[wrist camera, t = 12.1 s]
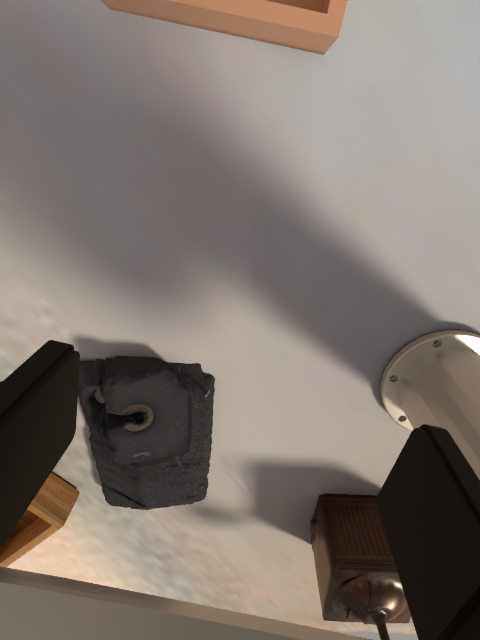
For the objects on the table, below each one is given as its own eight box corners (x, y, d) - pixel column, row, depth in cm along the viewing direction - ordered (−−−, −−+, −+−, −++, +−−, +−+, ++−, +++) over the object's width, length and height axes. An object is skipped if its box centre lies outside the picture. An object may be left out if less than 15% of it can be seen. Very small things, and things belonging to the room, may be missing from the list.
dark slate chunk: (95, 491, 51) (81, 524, 46) (75, 347, 41) (54, 372, 37) (210, 500, 51) (206, 533, 46) (217, 358, 41) (213, 383, 37)
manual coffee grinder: (313, 492, 49) (344, 669, 32) (401, 496, 48) (475, 676, 32) (301, 567, 55) (322, 745, 39) (378, 571, 55) (430, 752, 39)
